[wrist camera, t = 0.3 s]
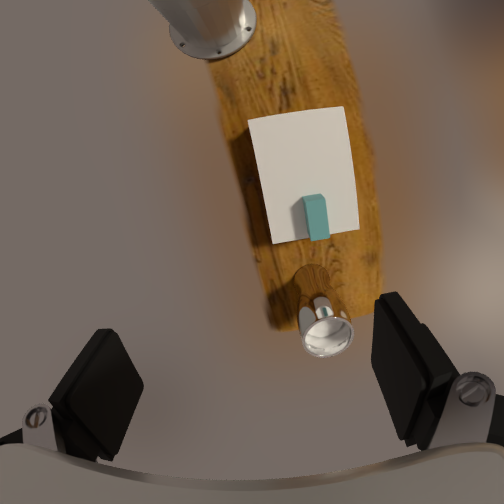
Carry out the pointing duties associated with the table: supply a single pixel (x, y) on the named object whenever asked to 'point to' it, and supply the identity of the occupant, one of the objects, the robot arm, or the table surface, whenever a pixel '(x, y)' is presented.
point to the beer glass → (321, 313)
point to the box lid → (306, 173)
